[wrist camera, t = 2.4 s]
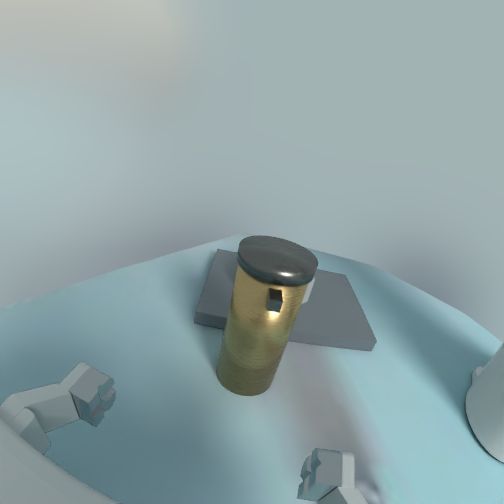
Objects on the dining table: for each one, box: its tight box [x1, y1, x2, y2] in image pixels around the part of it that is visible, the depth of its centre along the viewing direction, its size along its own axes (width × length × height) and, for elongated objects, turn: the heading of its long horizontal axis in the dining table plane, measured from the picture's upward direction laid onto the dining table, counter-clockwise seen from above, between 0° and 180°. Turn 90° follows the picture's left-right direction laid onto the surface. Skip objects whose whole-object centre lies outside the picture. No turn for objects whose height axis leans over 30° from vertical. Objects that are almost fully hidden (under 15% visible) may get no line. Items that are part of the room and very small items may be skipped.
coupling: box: [216, 236, 318, 396], centre depth 22 cm, size 8×5×12 cm
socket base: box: [194, 249, 377, 351], centre depth 37 cm, size 20×16×4 cm
